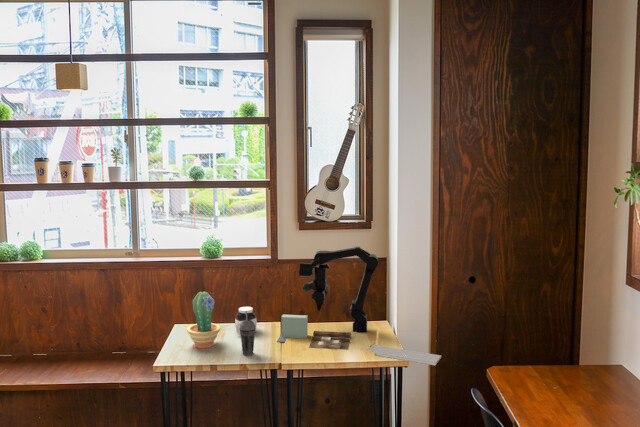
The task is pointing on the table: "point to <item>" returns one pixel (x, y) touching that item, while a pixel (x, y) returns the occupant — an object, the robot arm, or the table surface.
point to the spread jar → (244, 317)
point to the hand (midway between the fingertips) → (320, 307)
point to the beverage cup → (247, 336)
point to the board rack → (341, 336)
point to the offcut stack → (329, 343)
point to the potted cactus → (203, 321)
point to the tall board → (294, 326)
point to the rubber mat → (282, 339)
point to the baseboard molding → (400, 354)
